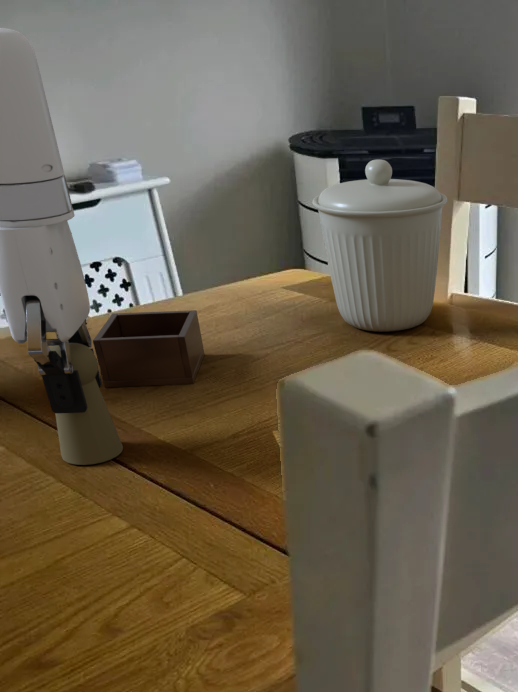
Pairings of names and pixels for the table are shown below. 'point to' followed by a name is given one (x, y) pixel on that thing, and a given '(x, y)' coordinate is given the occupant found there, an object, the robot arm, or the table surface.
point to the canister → (382, 248)
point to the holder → (149, 348)
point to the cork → (87, 417)
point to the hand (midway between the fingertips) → (77, 397)
